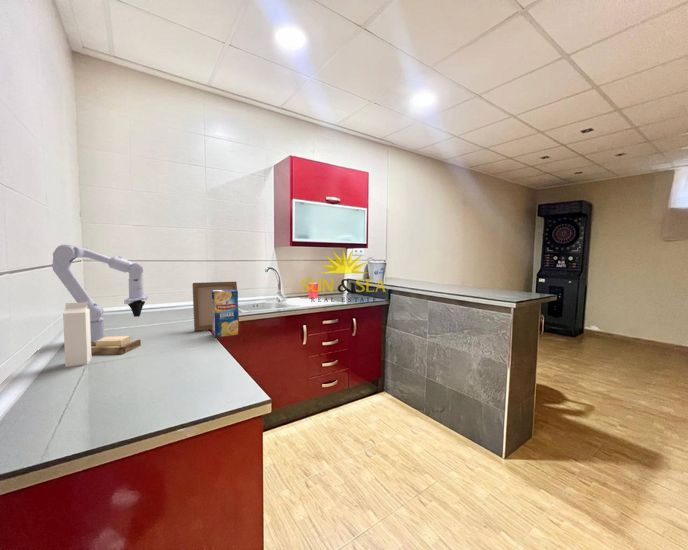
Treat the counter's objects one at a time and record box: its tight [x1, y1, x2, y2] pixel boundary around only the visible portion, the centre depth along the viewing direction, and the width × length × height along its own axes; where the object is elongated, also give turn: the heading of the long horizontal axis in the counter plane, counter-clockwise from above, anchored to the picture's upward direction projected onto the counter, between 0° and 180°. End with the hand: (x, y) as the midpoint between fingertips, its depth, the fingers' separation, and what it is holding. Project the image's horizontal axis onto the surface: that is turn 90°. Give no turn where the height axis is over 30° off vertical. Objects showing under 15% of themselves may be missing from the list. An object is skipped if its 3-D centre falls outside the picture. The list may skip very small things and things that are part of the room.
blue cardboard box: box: [211, 289, 239, 338], centre depth 148 cm, size 7×11×22 cm, turn 124°
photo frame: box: [192, 281, 240, 332], centre depth 162 cm, size 15×22×25 cm
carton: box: [96, 335, 131, 347], centre depth 122 cm, size 9×7×5 cm
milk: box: [62, 302, 92, 368], centre depth 106 cm, size 6×6×22 cm
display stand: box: [91, 339, 142, 355], centre depth 122 cm, size 16×12×3 cm
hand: (136, 316), depth 143 cm, fingers closed
